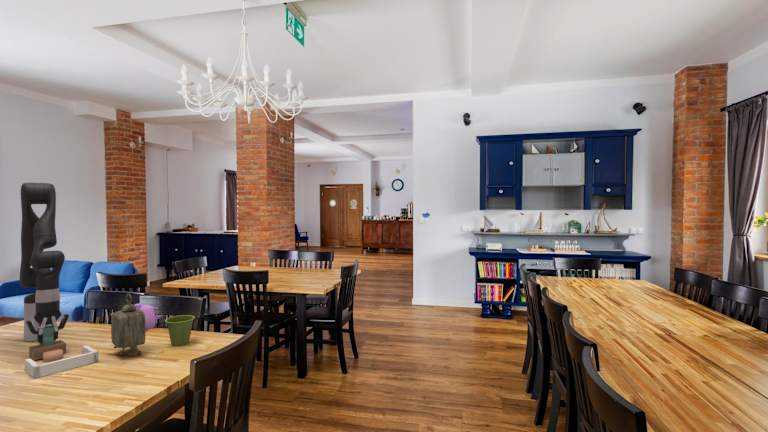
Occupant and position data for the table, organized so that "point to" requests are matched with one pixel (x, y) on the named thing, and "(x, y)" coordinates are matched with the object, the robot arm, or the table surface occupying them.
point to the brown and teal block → (46, 344)
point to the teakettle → (148, 315)
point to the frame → (62, 363)
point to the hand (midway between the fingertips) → (47, 341)
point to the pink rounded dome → (52, 355)
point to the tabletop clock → (128, 327)
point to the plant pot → (180, 329)
